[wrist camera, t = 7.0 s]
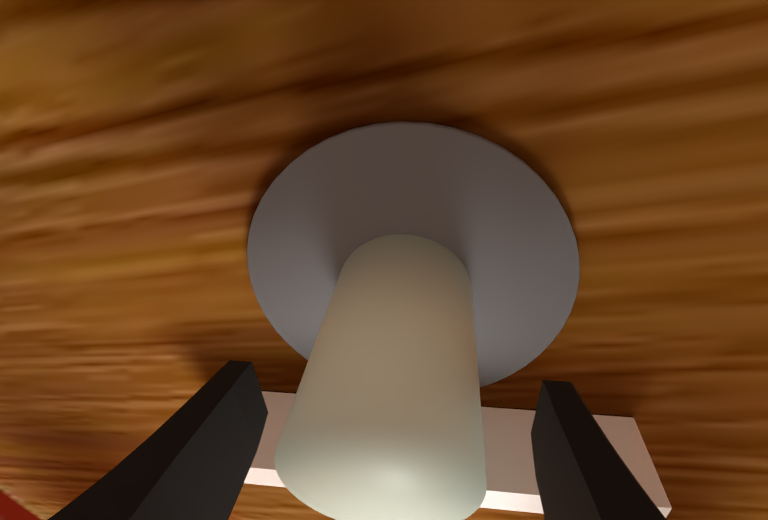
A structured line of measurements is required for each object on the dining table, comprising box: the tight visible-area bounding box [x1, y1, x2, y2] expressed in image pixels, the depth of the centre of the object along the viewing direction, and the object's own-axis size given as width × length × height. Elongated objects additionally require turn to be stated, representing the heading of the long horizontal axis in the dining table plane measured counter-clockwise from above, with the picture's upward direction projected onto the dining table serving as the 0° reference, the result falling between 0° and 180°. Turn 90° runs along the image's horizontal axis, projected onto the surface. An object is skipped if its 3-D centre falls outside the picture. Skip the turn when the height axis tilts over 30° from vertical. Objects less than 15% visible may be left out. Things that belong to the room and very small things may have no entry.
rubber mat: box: [247, 121, 580, 388], centre depth 14 cm, size 11×11×1 cm
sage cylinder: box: [274, 234, 487, 520], centre depth 12 cm, size 4×4×6 cm
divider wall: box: [244, 391, 672, 518], centre depth 17 cm, size 1×18×4 cm, turn 93°
